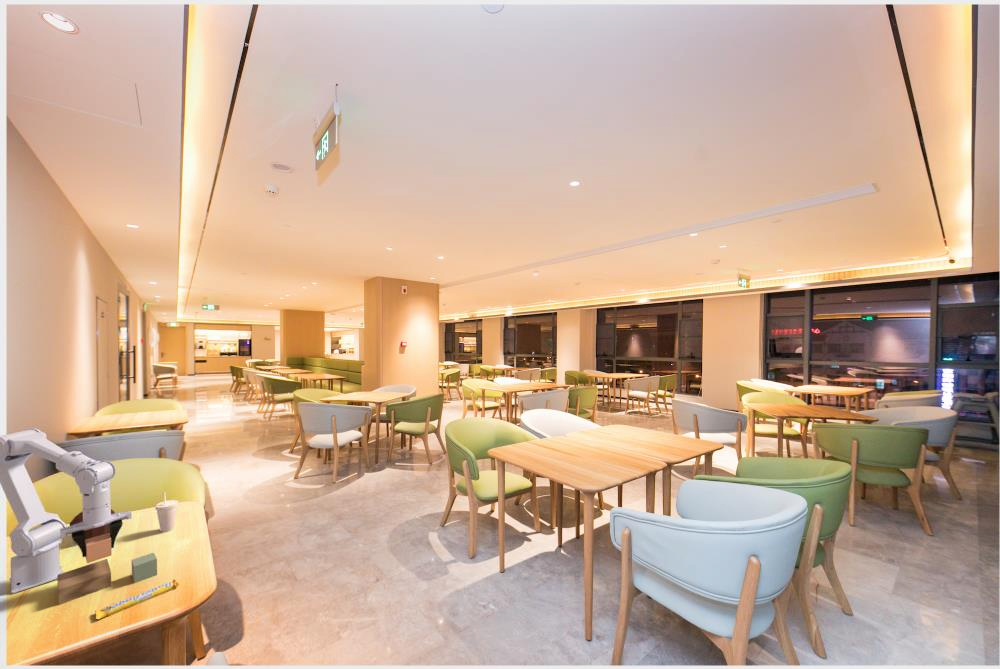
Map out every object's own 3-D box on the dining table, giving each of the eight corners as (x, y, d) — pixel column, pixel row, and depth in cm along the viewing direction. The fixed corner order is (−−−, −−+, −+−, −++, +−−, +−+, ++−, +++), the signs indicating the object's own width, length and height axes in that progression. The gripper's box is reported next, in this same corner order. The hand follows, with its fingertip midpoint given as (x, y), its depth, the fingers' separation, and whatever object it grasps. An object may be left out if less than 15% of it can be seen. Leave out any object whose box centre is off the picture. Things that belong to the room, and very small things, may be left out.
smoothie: (155, 529, 144) (154, 491, 144) (177, 523, 149) (176, 486, 148) (156, 536, 140) (155, 497, 139) (179, 529, 144) (178, 491, 144)
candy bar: (176, 582, 115) (176, 576, 115) (180, 589, 112) (180, 582, 112) (93, 616, 102) (93, 608, 102) (95, 623, 99) (95, 616, 99)
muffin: (81, 532, 143) (80, 505, 142) (121, 525, 147) (120, 499, 147) (62, 549, 132) (61, 519, 132) (106, 541, 137) (105, 512, 136)
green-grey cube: (134, 583, 114) (134, 566, 114) (131, 576, 117) (131, 559, 117) (157, 575, 118) (156, 558, 118) (154, 568, 121) (153, 552, 121)
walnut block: (59, 604, 105) (58, 590, 105) (57, 588, 112) (57, 574, 112) (111, 585, 113) (110, 572, 113) (107, 571, 120) (107, 558, 119)
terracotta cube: (87, 563, 112) (86, 545, 112) (85, 556, 115) (84, 539, 115) (111, 555, 116) (111, 538, 116) (109, 549, 119) (108, 532, 119)
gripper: (60, 519, 107) (62, 568, 108) (132, 500, 118) (134, 545, 119) (59, 511, 112) (60, 558, 112) (128, 494, 123) (130, 537, 123)
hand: (98, 551), depth 116 cm, fingers closed on terracotta cube, 5 cm apart
